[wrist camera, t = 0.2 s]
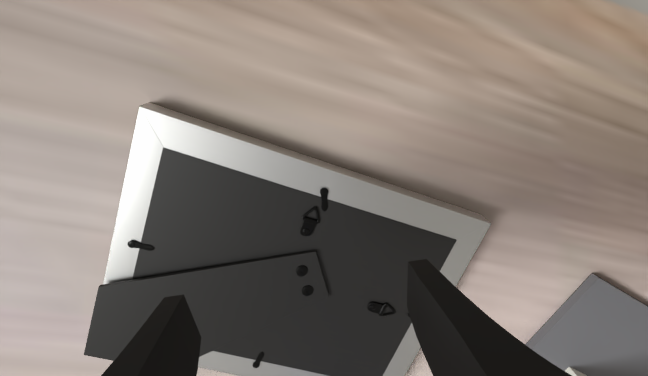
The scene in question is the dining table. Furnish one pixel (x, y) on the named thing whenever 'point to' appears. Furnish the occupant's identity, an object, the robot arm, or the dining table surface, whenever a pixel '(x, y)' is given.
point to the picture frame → (270, 253)
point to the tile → (574, 372)
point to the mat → (597, 332)
